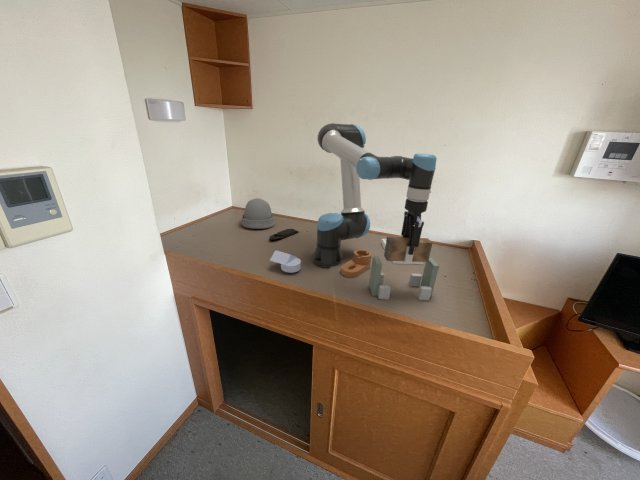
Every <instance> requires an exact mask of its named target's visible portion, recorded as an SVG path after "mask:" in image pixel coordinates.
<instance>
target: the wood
mask: <svg viewBox="0 0 640 480" xmlns="http://www.w3.org/2000/svg"><path fill="white" fill-rule="evenodd" d="M299 232H300V231H299V230H297V229H294V228H287V229H283V230H280V231H279V232H277V233H273V234H271V235H270V236H269V240H270V241H273V240H277V239H285V238H286V237H289V236H292V235H295V234H298V233H299Z"/></svg>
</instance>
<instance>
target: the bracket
mask: <svg viewBox="0 0 640 480" xmlns="http://www.w3.org/2000/svg"><path fill="white" fill-rule="evenodd" d="M372 254H373V252H371V251H370V250H369V251H368V250H367V249H362V248H359V249H356V250H354V251H353V258H352V259H350V260H349V261H347V262H346V263H344V264H342V265H341V267H340V274H341V275H343V276H344V277H346V278H356V277H359V276H361V274H363V273H365V272H366V271H367V270H370V269H371V264H372V257H373V256H372Z"/></svg>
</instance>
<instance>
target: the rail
mask: <svg viewBox="0 0 640 480" xmlns="http://www.w3.org/2000/svg"><path fill="white" fill-rule="evenodd" d="M386 239H387V240H386V246H385V249H384V252H383V256H384V258H385V260H386V262H392V261H404V260H405V254H406V249H407V245H409V238H403V236H402V237H399V236H398V237H397V236H386ZM432 246H433V241H431V239H429V238H428V237H427V238H426V237H424V238H423V237H420V241H419V246H418V247H415V249H414V254H413V259H412V262H423V263H426V262H428V261H429V258H430V255H431V251H432Z"/></svg>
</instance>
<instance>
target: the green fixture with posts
mask: <svg viewBox="0 0 640 480" xmlns="http://www.w3.org/2000/svg"><path fill="white" fill-rule="evenodd" d="M424 263H425V264H424V268H423V272H422V274H421V273H410V277H409V281H408V285H409V286H410V287H419V288H418V293H417V298H418V299H417V300H418V301H430V298H431V297H433V292H434V288H435V285H436V280H437V277H438V272H439V268H440V265H439V264H438V263H437V262H436V260H434V258H433V257H429V261H428V262H424ZM382 269H383V263H382V261H381V259H380V257H379V256H378V255H373V256H372V259H371V266H370V274H369V275H370V277H369V284H368V287H369V290H370V293H371V295H372V296H377V298H378V300H390V295H391V291H392V289H391V285H387V284H385V285H384V279H385V274H384V272H382Z"/></svg>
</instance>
